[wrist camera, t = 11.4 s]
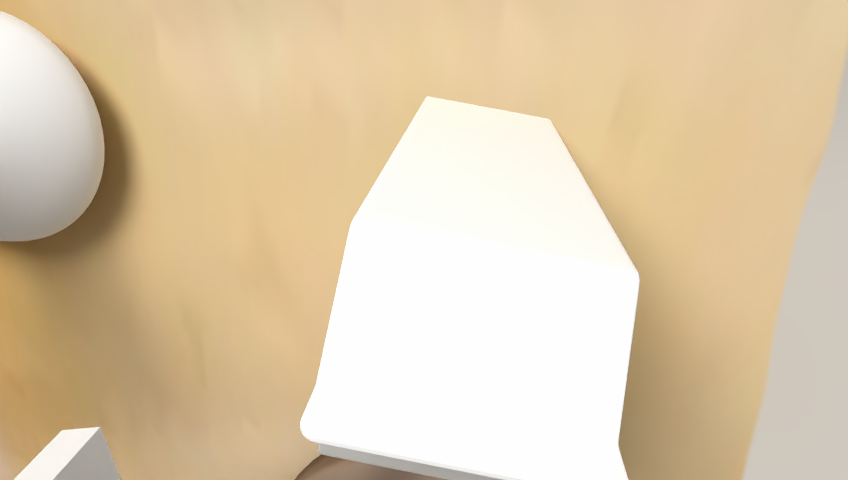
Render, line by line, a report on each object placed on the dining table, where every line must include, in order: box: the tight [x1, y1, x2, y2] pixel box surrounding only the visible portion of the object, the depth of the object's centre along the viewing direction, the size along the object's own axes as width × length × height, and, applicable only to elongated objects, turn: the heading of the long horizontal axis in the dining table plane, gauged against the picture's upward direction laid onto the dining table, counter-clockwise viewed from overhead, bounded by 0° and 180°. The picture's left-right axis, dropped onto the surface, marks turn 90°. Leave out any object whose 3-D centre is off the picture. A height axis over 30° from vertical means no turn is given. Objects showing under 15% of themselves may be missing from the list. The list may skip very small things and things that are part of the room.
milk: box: [300, 97, 640, 480], centre depth 22 cm, size 6×6×22 cm
